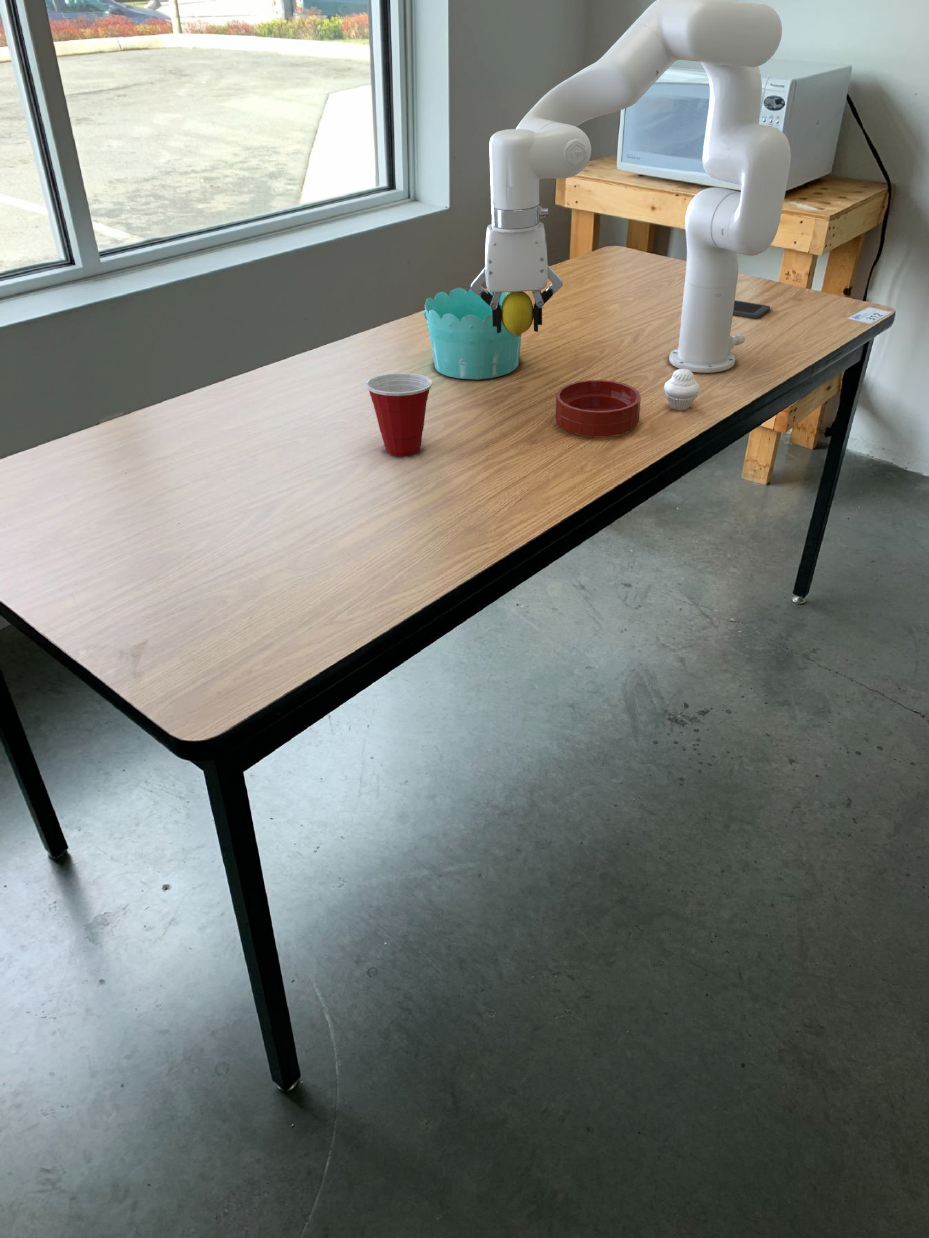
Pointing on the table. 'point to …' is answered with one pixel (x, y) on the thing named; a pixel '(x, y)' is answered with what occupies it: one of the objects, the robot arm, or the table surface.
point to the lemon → (517, 312)
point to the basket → (469, 337)
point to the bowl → (597, 408)
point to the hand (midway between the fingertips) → (517, 328)
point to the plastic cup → (400, 410)
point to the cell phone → (749, 309)
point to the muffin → (681, 389)
